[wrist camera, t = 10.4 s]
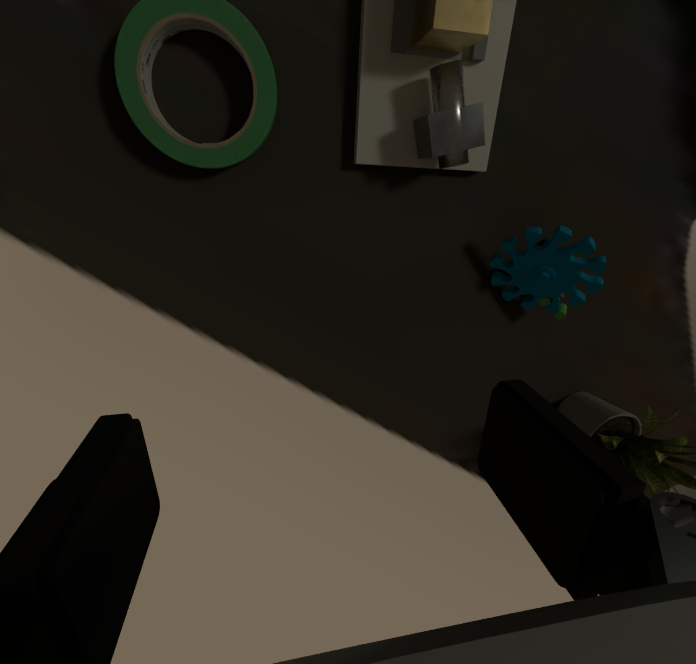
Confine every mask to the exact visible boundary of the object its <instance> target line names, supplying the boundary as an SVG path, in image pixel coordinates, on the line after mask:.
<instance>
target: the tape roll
mask: <svg viewBox="0 0 696 664" xmlns="http://www.w3.org/2000/svg"><path fill="white" fill-rule="evenodd" d="M192 29H197V30H204V31H208V32H211V33H214V34H216V35H218V36H220V37H221V38H223V39H225V40H226V41H227V42H229V43H230V44H231V45H232V46H233V47H234V48H235V49H236V50H237V51H238V52H239V54H240V55H241V56H242V58H243V59H244V61H245V62H246V64H247V66H248V68H249V70H250V73H251V76H252V81H253V105H252V109H251V111H250V115H249V118H248V119H247V121H246V123H245V124H244V126H243V127H242V129H241V130H240V131H239V132H237V133H236V134H235V135H234V136H232V137H231V138H230V139H228V140H225V141H223V142H219V143H216V144H213V143H210V144H207V143H204V144H197V143H194V142H192V141H190V140H188V139H186V138H184V137H183V136H181V135H180V134H178V133H177V132H176V131H175V130H174V129H173V128H172V127H171V126H170V125H169V124H168V123H167V121H166V120H165V119H164V117H163V116H162V114H161V112H160V111H159V109H158V106H157V104H156V102H155V99H154V95H153V91H152V85H151V71H152V65H153V61H154V58H155V56H156V54H157V52H158V50H159V48H160V47H161V45H162V44H163V43H164V42H165V41H166V40H167V39H168V38H170V37H171V36H173V35H174V34H176V33H179V32H181V31H184V30H192ZM114 60H115V61H114V64H115V76H116V81H117V85H118V90H119V93H120V96H121V98H122V101H123V103H124V106H125V108H126V110H127V112H128V114H129V115H130V117H131V119H132V121H133V122H134V124H135V125H136V126H137V128H138V129H139V130H140V132H141V133H142V134H143V135H144V136H145V137H146V139H147V140H148V141H150V142H151V143H152V144H153V145H154V146H155V147H156V148H157V149H159V150H160V151H161V152H163V153H164V154H166V155H167V156H169V157H171V158H172V159H174V160H176V161H178V162H181V163H183V164H186V165H189V166H193V167H198V168H206V169H220V168H227V167H231V166H234V165H237V164H239V163H241V162H243V161H245V160H247V159H248V158H250V157H251V156H252V155H254V154H255V153H256V152H257V151H258V150H259V149H260V148H261V146H262V145H263V144H264V142H265V141H266V139H267V138H268V136H269V134H270V132H271V129H272V126H273V123H274V120H275V115H276V109H277V86H276V78H275V72H274V68H273V65H272V61H271V58H270V56H269V53H268V51H267V49H266V47H265V45H264V43H263V41H262V39H261V37H260V36H259V34H258V33H257V31H256V30H255V28H254V27H253V26H252V24H251V23H250V22H249V21H248V19H247V18H246V17H245V16H244V15H243V14H242V13H241V12H240V11H239V10H238V9H236V8H235V7H234V6H233V5H231V4H230V3H229V2H227V1H226V0H141V1H139V2H138V3H137V4H136V5H135V6H134V7H133V9H132V10H131V11H130V13H129V14H128V15H127V17H126V19H125V20H124V22H123V25H122V27H121V29H120V32H119V35H118V38H117V43H116V47H115V58H114Z"/></svg>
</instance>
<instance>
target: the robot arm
mask: <svg viewBox="0 0 696 664" xmlns="http://www.w3.org/2000/svg"><path fill="white" fill-rule="evenodd" d="M478 467H479V470H480V472H481V474H482V476H483V477H484V478H485V480H486V481H487V483H488V484H489V486H490V487H491V488H492V490H493V491H494V493H495V494H496V496H497V497H498V499H499V500H500V502H501V503H502V504H503V506H504V507H505V508H506V510H507V512H508V513H509V514H510V516H511V517H512V519H513V520H514V522H515V523H516V525H517V526H518V528H519V529H520V530H521V532H522V533H523V535H524V536H525V538H526V539H527V541H528V542H529V544H530V545H531V546H532V548H533V549H534V551H535V552H536V554H537V555H538V557H539V558H540V559H541V561H542V562H543V564H544V565H545V567H546V568H547V570H548V571H549V572H550V574H551V575H552V577H553V578H554V580H555V581H556V582H557V583H558V585H560V586H561V587H563V588H566V589H567V591H568V592H569V594H570V595H571V596H572V598H573V599H574V601H570V602H565V603H561V604H556V605H551V606H546V607H541V608H536V609H531V610H526V611H522V612H516V613H511V614H507V615H501V616H496V617H492V618H487V619H482V620H477V621H472V622H467V623H463V624H458V625H453V626H449V627H444V628H439V629H434V630H429V631H424V632H419V633H415V634H410V635H405V636H401V637H396V638H391V639H386V640H382V641H377V642H372V643H368V644H362V645H358V646H353V647H348V648H343V649H339V650H334V651H329V652H325V653H320V654H315V655H311V656H306V657H301V658H297V659H292V660H287V661H283V662H278V663H274V664H696V499H694V498H691V497H688V496H686V495H682V494H678V493H674V492H660V493H656V494H654V495H653V496H652V497H651V499H649V498H647V497H646V496H645V495H644V494H643V492H644V490H645V488H646V485H647V484H646V483H644V482H643V481H642V480H641V479H640V478H638V477H637V476H636V475H635V474H634V473H632V472H631V471H630V470H629V469H628V468H626V467H625V466H624V465H623V464H622V463H620V462H619V461H618V460H617V459H616V458H615V457H613V456H612V455H611V454H610V453H609V452H607V451H606V450H605V449H604V448H603V447H601V446H600V445H599V444H598V443H597V442H595V441H594V440H593V439H592V438H591V437H589V436H588V435H587V434H586V433H585V432H583V431H582V430H581V429H580V428H579V427H577V426H576V425H575V424H574V423H573V422H572V421H570V420H569V419H568V418H567V417H566V416H564V415H563V414H562V413H561V412H560V411H558V410H557V409H556V408H555V407H554V406H552V405H551V404H550V403H549V402H548V401H546V400H545V399H544V398H543V397H542V396H540V395H539V394H538V393H537V392H536V391H534V390H533V389H532V388H531V387H530V386H528V385H527V384H526V383H525V382H524V381H522V380H509V381H501V382H499V383H498V384H497V387H494V388H493V389H492V393H491V398H490V403H489V408H488V412H487V417H486V422H485V427H484V432H483V437H482V442H481V447H480V452H479V457H478ZM159 511H160V501H159V496H158V493H157V488H156V484H155V480H154V476H153V472H152V468H151V463H150V459H149V455H148V451H147V447H146V443H145V439H144V435H143V431H142V427H141V423H140V421H139V419H132V417H131V415H130V414H117V415H105V416H101V417H100V418H99V419H98V420H97V421H96V423H95V424H94V426H93V427H92V429H91V430H90V431H89V433H88V434H87V436H86V437H85V439H84V440H83V442H82V443H81V444H80V446H79V447H78V449H77V450H76V451H75V453H74V454H73V456H72V457H71V459H70V460H69V461H68V463H67V464H66V466H65V467H64V469H63V470H62V471H61V473H60V474H59V476H58V477H57V479H55V480H53V481H52V483H50V484H49V486H48V487H47V488H46V490H45V491H44V492H43V494H42V495H41V497H40V498H39V499H38V501H37V502H36V504H35V505H34V506H33V508H32V509H31V511H30V512H29V514H28V515H27V516H26V518H25V519H24V521H23V522H22V523H21V525H20V526H19V528H18V529H17V530H16V532H15V533H14V535H13V536H12V537H11V539H10V540H9V542H8V543H7V545H6V546H5V547H4V549H3V550H2V552H1V553H0V664H110V663H111V660H112V657H113V654H114V651H115V648H116V644H117V642H118V638H119V635H120V632H121V629H122V626H123V623H124V620H125V617H126V614H127V611H128V608H129V605H130V602H131V599H132V596H133V593H134V590H135V587H136V584H137V580H138V577H139V574H140V571H141V568H142V565H143V562H144V559H145V556H146V553H147V550H148V547H149V544H150V541H151V538H152V534H153V532H154V529H155V526H156V523H157V519H158V516H159ZM598 594H599V595H600V596H597V595H598Z"/></svg>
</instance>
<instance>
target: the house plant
mask: <svg viewBox="0 0 696 664" xmlns="http://www.w3.org/2000/svg"><path fill="white" fill-rule="evenodd" d="M647 406H648V405H647ZM558 411H560V412H561V413H562V414H563V415H564V416H566V417H567V418H568V419H569V420H570V421H572V422H573V423H574V424H575V425H576V426H577V427H579V428H580V429H581V430H582V431H583V432H585V433H586V434H587V435H588V436H589V437H591V438H592V439H593V440H594V441H595V442H597V443H598V444H599V445H600V446H601V447H603V448H604V449H605V450H606V451H607V452H609V453H610V454H611V455H612V456H613V457H615V458H616V459H617V460H618V461H619V462H620V463H622V464H623V465H624V466H625V467H626V468H628V469H629V470H630V471H631V472H632V473H634V474H635V475H636V476H638V477H639V478H640V479H641V480H642V481H643V482H644V483H646V484H647V485H646V488H647V490H648V491H649V493H650V495H651V496H653V495H654V494H656V493H657V492H656V491H657V490H658V489H659V488H660V481H661V482H662V483H663V484H664V485H665V487H666V488H667V490H668V492H669V487H668V483H669V482H668V481H667V480H666V479H665V477H667V478H669V479H671V480H673V481H675V482H676V483H678V484H681V485H684V486H686V487H689V488H692V489H696V479H695V478H693V477H691V476H690V475H688V474H686V473H685V472H683V471H680V470H678V469H676V468H674V467H672V466H670V465H668V464H666V463H664V462H663V461H662V460H663V459H666V460H669V461H673V462H677V463H681V464H685V465H688V466H692V467H695V468H696V462H693V461H688V460H684V459H680V458H676V457H672V456H669V455H665V454H662V453H668V454H677V455H690V454H696V453H682V452H681V451H683V450H684V449H685V447H686V448H694V447H688V446H686V445H687V439H686V436H680V437H676V438H673V439H668V440H657V439H650V438H646V437H642V436H645V435H649V434H650V433H652V432H653V431H654V430H655V428H656V426H657V425H658V424H663V423H667V422H669V421H671V420H672V419H674V418H675V417H676V416H677V414H678V413H679V411H680V410H679V411H678V412H677V413H676V414H675V415H673V416H672V417H671V418H670V419H668V420H666V421H664V422H661V423H658V418H657V416H656V414H655V413H654V412H653V411H652V410H651V408H650V407H649V406H648V412H647V415H646V422H645V426H643V427H645V432H644V435H641V436H640V434H641V428H642V426H641V423H640V420H639V419H638V418H637V417H636V416H634V415H632V414H630V413H628V412H626V411H624V410H622V409H620V408H618V407H616V406H614V405H612V404H610V403H607V402H605V401H603V400H601V399H599V398H597V397H595V396H593V395H591V394H589V393H587V392H576V393H573V394H571V395H570V396H568V397H567V398H566V399H564V400H563V402H562V403H561V404H560V406H559V408H558ZM659 452H660V453H659ZM636 458H637V459H636ZM639 460H640V461H641V462H642V463H643V464H645V465H646V467H647V468H648V469H649V470H650V471H649V470H648V469H647V468H646V467H645V466H644V465H643V464H642V463H641V462H640V461H639ZM653 473H654V474H655V475H656V476H657V477H658V478H659V479H660V481H659V480H658V479H657V477H656V476H655V475H654V474H653ZM664 476H665V477H664ZM667 482H668V483H667ZM669 484H670V483H669ZM670 485H671V484H670ZM671 487H672V488H673V489H674V490H675V488H674V487H673V486H672V485H671ZM675 491H676V490H675ZM676 492H677V491H676ZM677 493H678V492H677ZM678 494H679V493H678Z"/></svg>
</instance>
